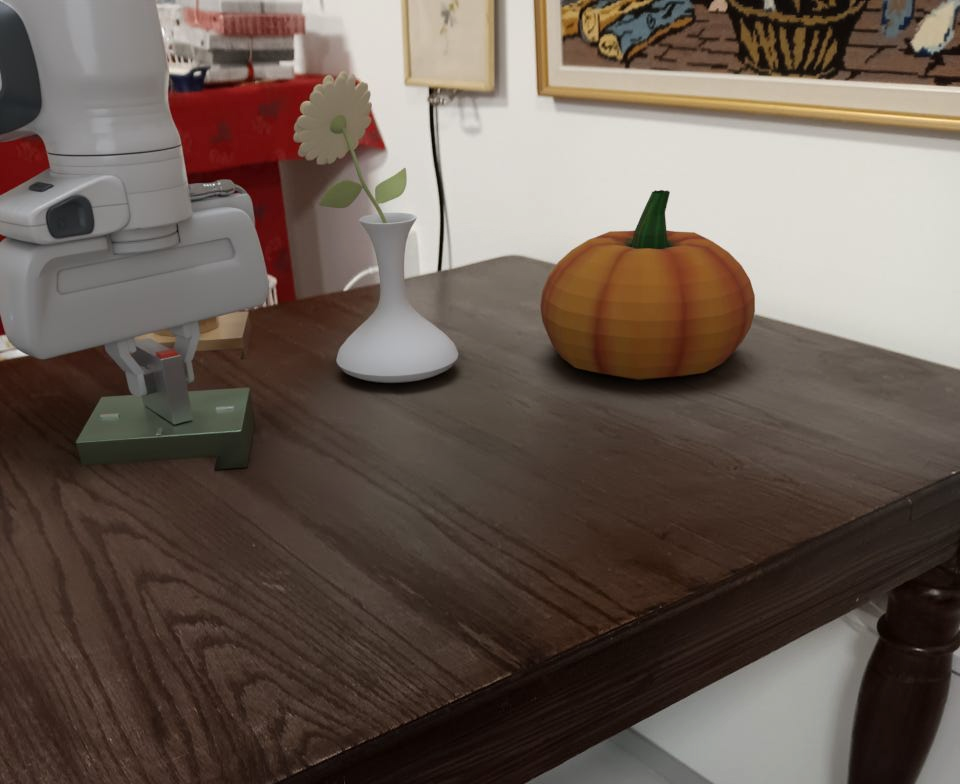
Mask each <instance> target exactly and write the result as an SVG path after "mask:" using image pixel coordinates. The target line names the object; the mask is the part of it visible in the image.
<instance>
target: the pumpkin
mask: <svg viewBox="0 0 960 784" xmlns="http://www.w3.org/2000/svg"><path fill="white" fill-rule="evenodd" d="M670 193H671V191H669V190H663V189H660V190H656V189H655V190H654V191H653V190H652V191H651V193H650V195H649V198H648V200H647V202H646V204H645V207H644V208H643V211H642V213H641V215H640V218H639V220H638V223H637V225H636V227H635V229H634V230H615V231H614V230H613V231H608V232H605V233H602V234H600V235H597V236H595V237H592V238H589V239H587V240H586V241H584V242H583V243H581V244H579V245H577V246H576V247H574V248H573V249H571V250H569V252H567V254H565V255H564V256H563V257H562V258H561V259H560V260H559V261H558V262H557V264H556V265H555V266H554V268H552V270H551V272H550V273H549V274H548V275H547V278H546V281H545V283H544V286H543V288H542V291H541V298H540V313H541V314H540V315H541V322H542V324H543V327H544V329H545V331H546V334H547V336H548V338H549V341H550V344H551V345H552V347H553V348H554V350H555V351H556V352H557V354H558V355H559V356H560V357H561V358H562V359H563V360H564V361H565V362H567V363H568V364H570V365H571V366H572V367H573V368H574V369H579V370H582V371H588V372H592V373H597V374H601V375H606V374H607V376H612V377H617V378H623V379H624V378H625V379H629V380H635V381H645V380H646V379H647V380H657V379H667V378H668V377H669V378H678V376H679V377H685V376H692V375H697V374H706V373H707V372H709V371H711V370H713V369H715V368H717V367H718V366H720V365H722V364H724V363H725V362H726V361H727V360H728V359H729V357H731V355H732V354H733V353H734V352H735V351H736V350H737V349H738V347H739V346H740V345H741V344H742V343H743V342H744V340H745V338H746V336H747V335H748V333H749V331H750V330H751V328H752V325H753V320H754V316H755V312H756V299H755V297H756V294H755V291H754V288H753V284H752V281H751V279H750V277H749V276H748V274H747V272H746V270H745V269H744V267H743V265H741V263H740V262H739V261H738V260H737V258H735V257H734V256H733V255H732V254H731V253H730V252H729V251H728V250H726V249H724V247H722V246H720V245H719V244H717V243H715V242H714V241H712V240H711V239H709V238H707V237H704V236H703V235H700V234H699V233H696V232H693V231H675V230H674V231H673V230H667V221H666V211H667V206H668V202H669V198H670Z"/></svg>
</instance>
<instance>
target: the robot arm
mask: <svg viewBox="0 0 960 784" xmlns="http://www.w3.org/2000/svg"><path fill="white" fill-rule="evenodd" d="M160 19H161V18H160V15H159V11H158V6H157V2H156V0H0V143H6V142H12V141H15V140H16V141H17V140H20V139H24V138H27V137H40V138H41V140H42V141H43V144H44V147H45V151H46V154H47V161H48V164H49V168H47V169H45V170H43V171H42V172H40V173H39V174H37V175H35V176H34V177H31V178H30V179H29V180H27V181H25V182H23V183H21V184H19V185H17V186H15V187H14V188H12V189H10V190H8V191H7V192H4V193H2V194H0V235H1V236H4V237H5V238H4V239H2V240H1V241H0V318H1V319H0V320H1V323H2V327H3V330H4V333H5V335H6V339H7V341H8V342H9V343H10V344H11V345H12V346H13V347H14V348H16V349H17V350H18V351H19V352H21V353H22V354H25V355H27V356H30V357H32V358H34V359H38V360H48V359H53V358H56V357H60V356H65V355H68V354H73V353H76V352H80V351H84V350H85V351H86V350H89V349H93V348H96V347H100V346H103V347H104V351H105V352H106V354H107V355H108V356H109V357H110V358H111V359H112V360H113V361H114V362H115V363H116V365H117V366H118V367H119V368H120V369H121V370H122V371H123V372H124V373H125V378H126V382H127V387H128V390H129V392H130V394H131V395H135V396H137V397H143V396H146V395H149V394H152V393H155V392H156V391H157V389H156V384H155V379H154V374H153V371H152V370H150V369H147V368H145V367H143V366H141V367H140V366H139V365H138V363H137V362H136V361H135V360H134V359H133V355H130V353H133V352H136V345H135V340H134V337H137V336H141V335H145V334H149V333H153V332H157V331H161V330H165V329H169V331H170V333H171V334H173V335H176V339H175V344H174V348H173V349H174V350H176V351H177V352H178V354H180V355H181V358H182V363H183V368H184V374H185V379H186V384H187V385H188V384H190V383H193V382H195V373H194V368H193V367H194V366H193V362H192V360H194V356H195V355H196V352H197V351H196V348H197V345H198V342H199V339H200V336H201V335H200V329H199V323H198V321H202V320H206V319H210V318H214V317H218V316H222V315H226V314H230V313H234V312H243V311H247V310H249V309H254V308H257V307H261V306H263V305H264V304H265V302H266V301H267V298H268V295H269V293H270V283H269V276H268V271H267V266H266V262H265V258H264V254H263V250H262V246H261V243H260V242H261V241H260V239H259V236H258V235H259V234H258V231H257V229H256V219H255V213H254V206H253V201H252V198H251V196H250V195H249V193H248V192H247V191H246V190H245V188H243V187H242V186H240V185H238V184H236V183H234V181H232V180H231V179H225V178H224V179H218V180H214V181H213V182H196V183H189V181H188V175H187V170H186V163H185V157H184V151H183V144H182V139H181V136H180V133H179V130H178V128H177V125H176V123H175V121H174V119H173V116H172V113H171V109H170V102H169V83H170V67H169V60H168V55H167V49H166V45H165V38H164V34H163V28H162V24H161V20H160ZM235 191H236V192H237V193H235Z"/></svg>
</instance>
